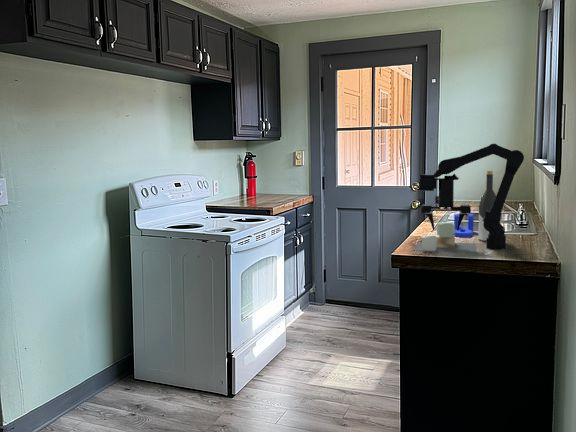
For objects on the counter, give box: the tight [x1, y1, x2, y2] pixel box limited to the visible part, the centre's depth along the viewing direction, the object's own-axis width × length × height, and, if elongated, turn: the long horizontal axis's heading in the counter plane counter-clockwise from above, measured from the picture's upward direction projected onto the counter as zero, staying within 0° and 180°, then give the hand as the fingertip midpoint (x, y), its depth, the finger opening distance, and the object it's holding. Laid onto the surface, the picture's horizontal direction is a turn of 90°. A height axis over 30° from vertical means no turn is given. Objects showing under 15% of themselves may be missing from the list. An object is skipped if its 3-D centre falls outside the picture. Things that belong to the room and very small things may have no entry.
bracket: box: [453, 212, 475, 238], centre depth 251 cm, size 18×8×9 cm, turn 159°
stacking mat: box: [413, 223, 478, 254], centre depth 216 cm, size 23×20×9 cm
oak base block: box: [436, 234, 456, 248], centre depth 218 cm, size 7×7×4 cm
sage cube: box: [438, 222, 454, 237], centre depth 218 cm, size 5×5×5 cm
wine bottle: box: [478, 170, 497, 243], centre depth 227 cm, size 8×8×30 cm
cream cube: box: [421, 235, 437, 252], centre depth 212 cm, size 5×5×5 cm
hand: (445, 230), depth 218 cm, fingers open, 9 cm apart
